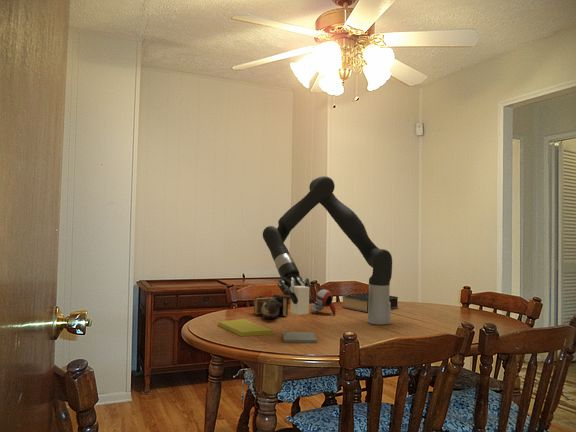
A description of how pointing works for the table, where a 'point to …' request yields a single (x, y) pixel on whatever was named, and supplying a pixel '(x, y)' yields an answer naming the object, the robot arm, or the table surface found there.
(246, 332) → the flat olive board
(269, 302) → the bookend
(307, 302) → the cream block
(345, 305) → the book
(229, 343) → the table surface
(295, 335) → the slate pad
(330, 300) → the toy
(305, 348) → the table surface
